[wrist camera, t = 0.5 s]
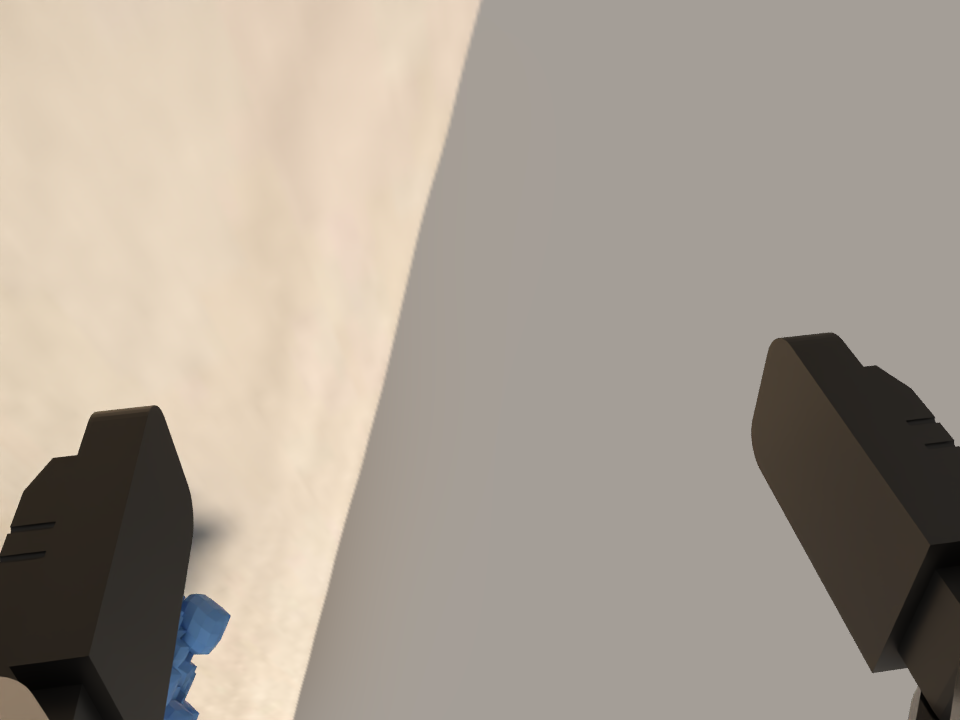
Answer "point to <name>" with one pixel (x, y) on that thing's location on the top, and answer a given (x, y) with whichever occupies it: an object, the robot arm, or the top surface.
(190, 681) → the grapes
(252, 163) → the top surface
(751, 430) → the robot arm
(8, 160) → the top surface
